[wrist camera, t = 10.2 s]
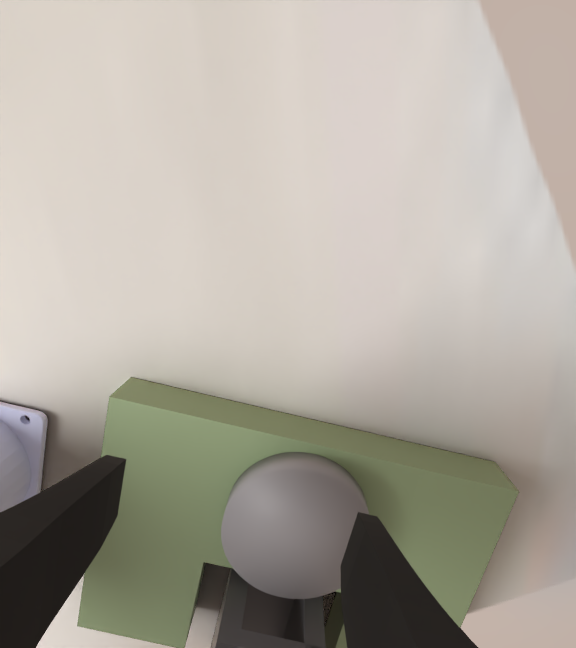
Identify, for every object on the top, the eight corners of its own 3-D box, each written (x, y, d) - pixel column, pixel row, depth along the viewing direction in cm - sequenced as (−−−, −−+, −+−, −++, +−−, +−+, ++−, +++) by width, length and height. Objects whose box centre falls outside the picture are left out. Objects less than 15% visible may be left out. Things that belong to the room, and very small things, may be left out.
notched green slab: (99, 586, 25) (61, 653, 21) (131, 377, 21) (93, 410, 18) (415, 656, 25) (436, 735, 21) (494, 462, 22) (536, 513, 18)
